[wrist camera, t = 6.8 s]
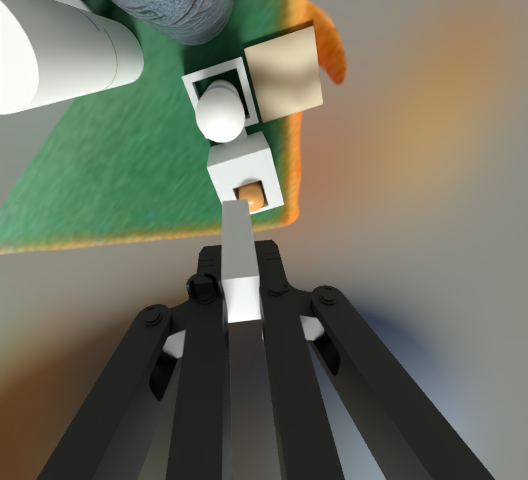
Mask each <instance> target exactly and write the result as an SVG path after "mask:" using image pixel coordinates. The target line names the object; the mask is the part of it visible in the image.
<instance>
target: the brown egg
mask: <svg viewBox="0 0 528 480" xmlns="http://www.w3.org/2000/svg"><path fill="white" fill-rule="evenodd" d="M238 191H239V200H243V199H248V205H249V212H255V211H258V210H259V209H260V208H261V207H262V206H263V204H264V197H263V193H262V190H261V186H260V182H259V181H256V182H253V183H250V184H246V185H243V186H240V187H238Z"/></svg>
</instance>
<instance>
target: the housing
mask: <svg viewBox="0 0 528 480" xmlns="http://www.w3.org/2000/svg"><path fill="white" fill-rule="evenodd" d="M235 68H236V69H237V72H238V76H239V80H240V83H241V87H242V90H243V94H244V98H245V101H246V105H247V108H248V112H249V114H248V115H245V122H244V126H243V129H242V131H241V133H240V134H239V135H238V136H237V137H236V138H235V139H233V140H231V141H229V142H223V143H222V144H219V145H215V146H212V147H210V152H209V157H208V163H207V169H208V172H209V174H210V177H211V179H212V181H213V184H214V186H215V189H216V191H217V194H218V196H219V198H220V201H221V203H222V201H230V200H239V191H238V187H240V186H243V185H246V184H250V183H253V182H256V181H259V182H260V186H261V190H262V193H263V197H264V204H263V206H262V207H261V208H260V209H259V210H258V211H255V212H250V215H251V214H254V213H257V212H261V211H264V210H267V209H271V208H274V207H278V206H281V205H284V203H283V199H282V195H281V191H280V187H279V183H278V179H277V175H276V171H275V167H274V163H273V159H272V155H271V151H270V147H269V145H268V143H267V141H266V139H265V137H264V135H263V133H262V131H260V132H257V133H254V134H250V135H247V133H246V130H245V127H246V126H250V125H253V124H256V123H259V122H258V118H257V114H256V110H255V107H254V103H253V99H252V95H251V91H250V87H249V84H248V80H247V76H246V72H245V68H244V64H243V61H242V57H239V58H236V59H233V60H230V61H227V62H224V63H221V64H218V65H215V66H212V67H209V68H206V69H203V70H200V71H197V72H194V73H191V74H188V75H185V76H182V79H183V81H184V84H185V87H186V89H187V92H188V94H189V97H190V99H191V102H192V105H193V107H194V110H195V112H196V107H197V104H198V102H199V100H200V96H199V94H198V91H197V88H196V85H195V83H194V82H195V81H198V80H201V79H204V78H207V77H211V76H214V75H217V74H220V73H223V72H226V71H229V70H232V69H235ZM205 138H206V139H209V138H207V137H206V136H205Z"/></svg>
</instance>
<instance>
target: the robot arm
mask: <svg viewBox="0 0 528 480" xmlns="http://www.w3.org/2000/svg"><path fill="white" fill-rule="evenodd" d="M186 288H187V291H188V295H189V298H190V299H189V300H188V301H186V302H184V303H183V304H180V305H178V306H176V307H173V308H170V309H169V308H168V307H167V306H165V305H161V304H156V305H152V306H149V307H146V308H145V309H143V310H142V311H140V313H139V314H138V315H137V316H136V318H135V319H134V321H133V323H132V324H131V326H130V327H129V329H128V331H127V332H126V334H125V336H124V337H123V339H122V340H121V342H120V344H119V345H118V347H117V349H116V350H115V352H114V354H113V355H112V357H111V358H110V360H109V362H108V363H107V365H106V367H105V368H104V370H103V371H102V373H101V375H100V376H99V378H98V380H97V381H96V383H95V385H94V386H93V388H92V389H91V391H90V393H89V394H88V396H87V398H86V399H85V401H84V403H83V404H82V406H81V407H80V409H79V411H78V412H77V414H76V416H75V417H74V419H73V421H72V422H71V424H70V425H69V427H68V429H67V430H66V432H65V434H64V435H63V437H62V438H61V440H60V442H59V444H58V445H57V447H56V448H55V450H54V452H53V453H52V455H51V456H50V458H49V460H48V461H47V463H46V465H45V466H44V468H43V470H42V471H41V473H40V474H39V476H38V478H37V479H36V480H137V479H138V477H139V474H140V472H141V469H142V466H143V464H144V461H145V458H146V456H147V453H148V450H149V448H150V445H151V442H152V440H153V437H154V435H155V432H156V429H157V427H158V424H159V421H160V419H161V416H162V414H163V411H164V408H165V406H166V403H167V400H168V397H169V395H170V392H171V390H172V387H173V384H174V382H175V379H176V377H177V374H178V371H179V369H180V366H181V369H180V376H179V384H178V391H177V398H176V406H175V414H174V421H173V428H172V436H171V444H170V451H169V458H168V466H167V473H166V480H232V438H231V391H230V390H231V389H230V340H229V329H228V322H229V323H230V322H238V321H246V320H255V319H261V321H262V339H263V340H264V349H265V357H266V364H267V372H268V379H269V387H270V395H271V402H272V410H273V418H274V426H275V433H276V441H277V449H278V456H279V464H280V472H281V480H345V479H344V475H343V471H342V467H341V464H340V460H339V457H338V453H337V449H336V446H335V442H334V439H333V436H332V431H331V428H330V424H329V421H328V417H327V413H326V410H325V406H324V403H323V399H322V396H321V392H320V388H319V384H318V381H317V377H316V374H315V370H314V367H313V363H312V359H311V356H310V352H309V348H308V345H307V342H306V339H307V340H308V342H309V344H310V346H311V347H312V349H313V351H314V352H315V354H316V356H317V358H318V360H319V361H320V363H321V365H322V366H323V368H324V370H325V372H326V374H327V376H328V377H329V379H330V381H331V383H332V384H333V386H334V388H335V390H336V391H337V393H338V395H339V397H340V398H341V400H342V402H343V404H344V405H345V407H346V409H347V411H348V413H349V414H350V416H351V418H352V420H353V421H354V423H355V425H356V427H357V428H358V430H359V432H360V434H361V435H362V437H363V439H364V441H365V443H366V444H367V446H368V448H369V449H370V451H371V453H372V455H373V457H374V458H375V460H376V461H377V464H378V465H379V467H380V469H381V471H382V473H383V474H384V476H385V478H386V480H495V479H494V478H493V476H492V475H491V474H490V473H489V472H488V470H487V469H486V468H485V467H484V465H483V464H482V463H481V462H480V460H479V459H478V458H477V457H476V456H475V454H474V453H473V452H472V451H471V449H470V448H469V447H468V446H467V445H466V444H465V442H464V441H463V440H462V439H461V437H460V436H459V435H458V434H457V432H456V431H455V430H454V429H453V428H452V426H451V425H450V424H449V423H448V421H447V420H446V419H445V418H444V417H443V416H442V414H441V413H440V412H439V411H438V409H437V408H436V407H435V406H434V404H433V403H432V402H431V401H430V400H429V398H428V397H427V396H426V395H425V393H424V392H423V391H422V390H421V389H420V387H419V386H418V385H417V384H416V383H415V381H414V380H413V379H412V378H411V376H410V375H409V374H408V373H407V372H406V370H405V369H404V368H403V367H402V366H401V364H400V363H399V362H398V360H397V359H396V358H395V357H394V356H393V354H392V353H391V352H390V351H389V350H388V348H387V347H386V346H385V345H384V344H383V342H382V341H381V340H380V339H379V338H378V336H377V335H376V334H375V332H374V331H373V330H372V329H371V328H370V326H369V325H368V324H367V323H366V321H365V320H364V319H363V318H362V317H361V315H360V314H359V313H358V312H357V311H356V309H355V308H354V307H353V306H352V305H351V303H350V302H349V301H348V300H347V298H346V297H345V296H344V295H343V294H342V292H340V291H339V290H338V289H337V288H334V287H332V286H326V285H325V286H319V287H317V288H315V289H314V290H313V292H307V291H302V290H298V289H295V288H294V287H292V286H291V285H290V284H289V283H288V281H287V279H286V275H285V271H284V268H283V264H282V260H281V257H280V254H279V250H278V246H277V245H276V243H275V242H274V241H273V240H264V241H254V239H253V231H252V225H251V218H250V212H249V205H248V199H243V200H230V201H222V245H217V246H206V247H203V249H202V250H201V252H200V253H199V260H198V268H197V274H195V275H193V276H191V277H190V278H189V279H188V281H187V283H186Z"/></svg>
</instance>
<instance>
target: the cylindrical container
mask: <svg viewBox="0 0 528 480" xmlns="http://www.w3.org/2000/svg"><path fill="white" fill-rule="evenodd" d="M143 65H144V57H143V52H142V49H141V46H140V44H139V42H138V40H137V39H136V37H135V36H134V34H133V33H132V32H131V31H130V30H129V29H128V28H127V27H125V26H124V25H122V24H121V23H119V22H116V21H114V20H111V19H108V18H105V17H102V16H99V15H96V14H93V13H90V12H87V11H84V10H81V9H78V8H75V7H73V6H70V5H67V4H64V3H61V2H58V1H55V0H0V115H1V114H11V113H15V112H19V111H23V110H27V109H31V108H35V107H39V106H43V105H47V104H51V103H54V102H58V101H62V100H66V99H70V98H74V97H78V96H82V95H86V94H90V93H94V92H98V91H102V90H106V89H109V88H113V87H117V86H121V85H125V84H129V83H132V82H134V81H135V80H137V79H138V78H139V76H140V75H141V73H142V70H143Z"/></svg>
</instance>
